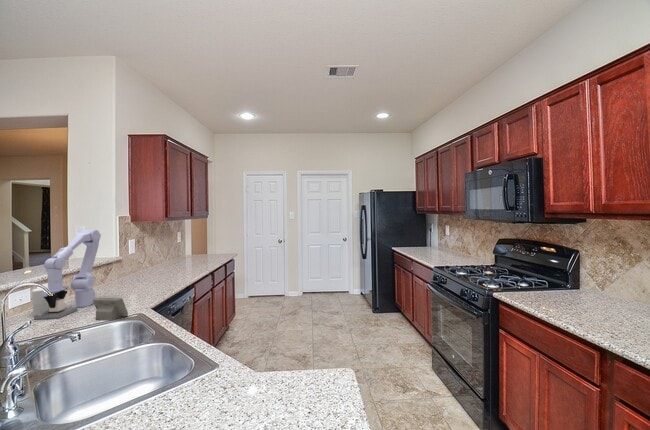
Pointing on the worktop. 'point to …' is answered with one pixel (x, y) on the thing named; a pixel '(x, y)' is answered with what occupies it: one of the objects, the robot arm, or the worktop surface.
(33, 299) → the small box
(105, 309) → the digital clock
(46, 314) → the socket plate
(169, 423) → the worktop surface
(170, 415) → the worktop surface
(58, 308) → the plug
